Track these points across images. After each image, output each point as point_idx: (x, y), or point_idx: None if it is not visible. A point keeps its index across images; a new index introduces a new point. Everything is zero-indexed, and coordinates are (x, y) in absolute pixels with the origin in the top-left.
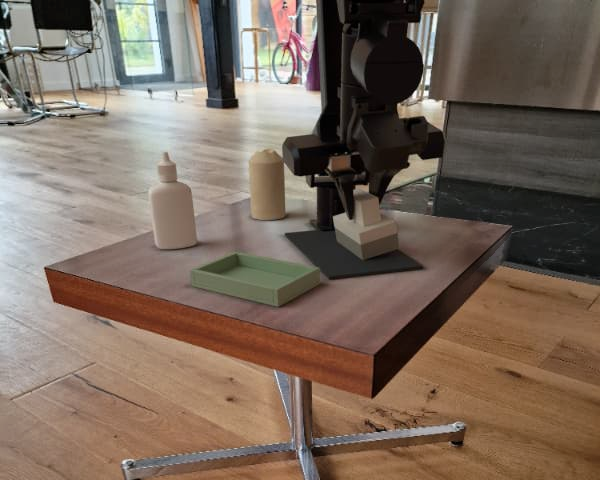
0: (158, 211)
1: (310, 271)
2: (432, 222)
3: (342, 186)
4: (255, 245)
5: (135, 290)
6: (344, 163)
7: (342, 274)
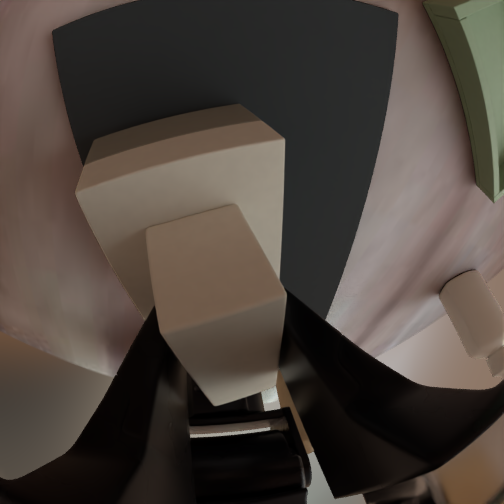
0: (499, 308)
1: (476, 2)
2: (45, 339)
3: (397, 376)
4: (393, 278)
5: None
6: (475, 479)
7: (361, 4)
